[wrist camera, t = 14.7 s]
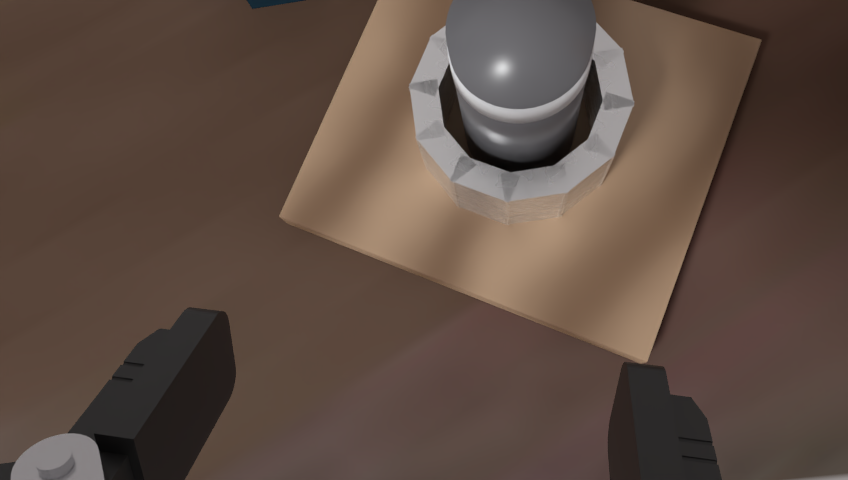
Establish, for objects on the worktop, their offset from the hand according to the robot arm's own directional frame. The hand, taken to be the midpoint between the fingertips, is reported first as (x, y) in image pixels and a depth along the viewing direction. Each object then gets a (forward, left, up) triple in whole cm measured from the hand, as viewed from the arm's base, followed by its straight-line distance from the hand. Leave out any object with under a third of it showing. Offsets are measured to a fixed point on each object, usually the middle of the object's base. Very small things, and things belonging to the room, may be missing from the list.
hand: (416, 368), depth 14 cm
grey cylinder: (-2, +12, -18) cm, 21 cm away
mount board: (-2, +12, -19) cm, 23 cm away
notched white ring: (-2, +12, -18) cm, 21 cm away
